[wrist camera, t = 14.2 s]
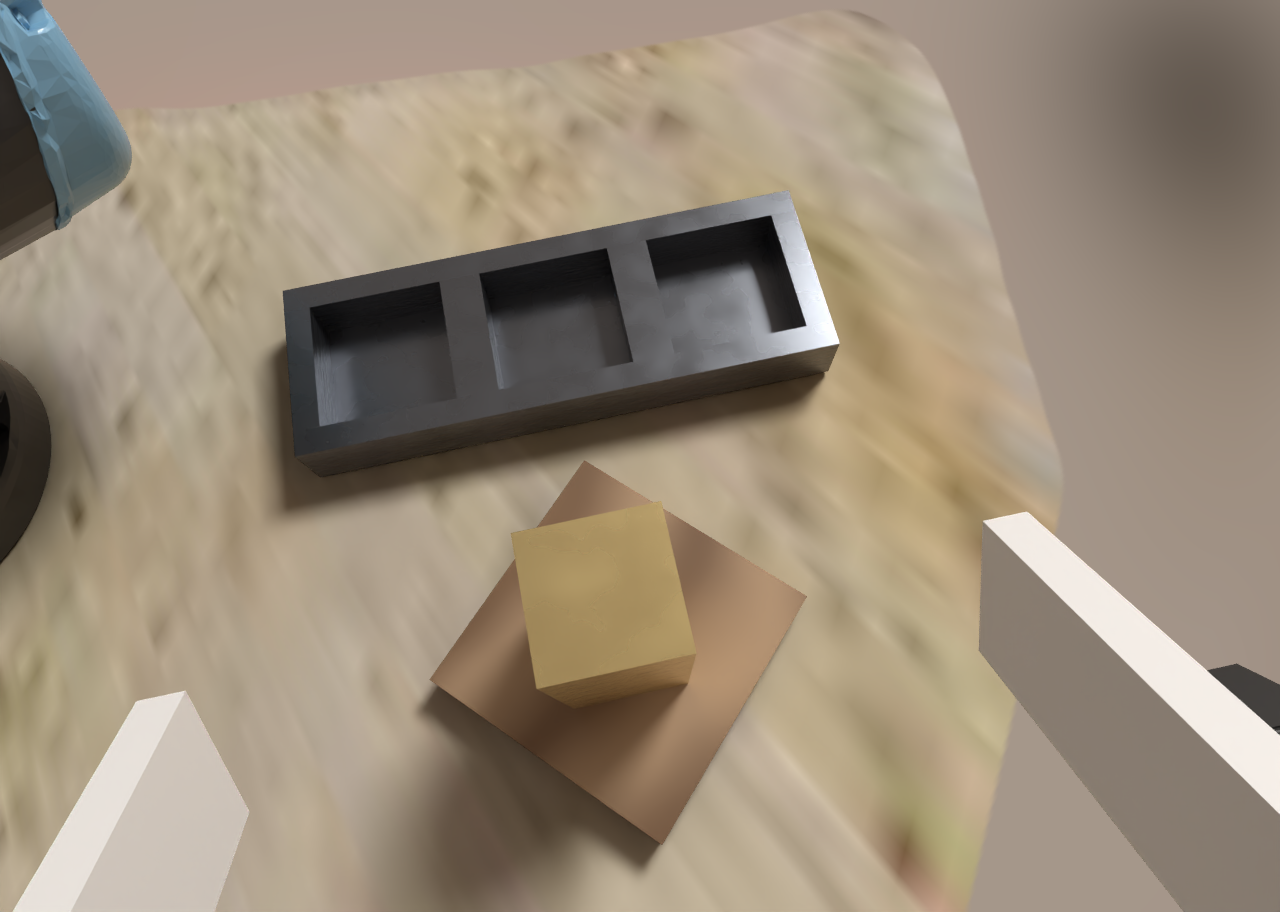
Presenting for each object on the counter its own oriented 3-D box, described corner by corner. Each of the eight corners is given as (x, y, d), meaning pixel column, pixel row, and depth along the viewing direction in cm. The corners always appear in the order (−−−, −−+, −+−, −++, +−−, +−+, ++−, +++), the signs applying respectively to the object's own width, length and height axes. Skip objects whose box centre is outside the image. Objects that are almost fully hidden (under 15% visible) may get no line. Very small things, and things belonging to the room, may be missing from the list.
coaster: (438, 682, 38) (429, 679, 36) (587, 470, 41) (584, 460, 40) (662, 841, 35) (661, 845, 34) (801, 602, 38) (807, 596, 37)
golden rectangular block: (574, 708, 36) (536, 689, 25) (554, 595, 37) (510, 532, 27) (688, 683, 36) (696, 653, 26) (663, 571, 38) (661, 500, 27)
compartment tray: (320, 477, 41) (294, 456, 38) (307, 320, 44) (282, 290, 41) (828, 371, 42) (839, 343, 40) (780, 225, 45) (788, 190, 43)
